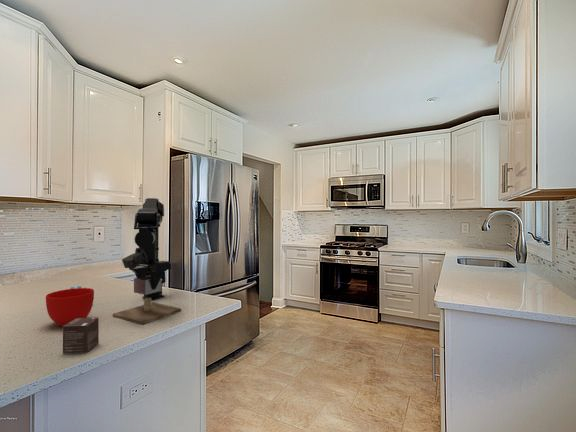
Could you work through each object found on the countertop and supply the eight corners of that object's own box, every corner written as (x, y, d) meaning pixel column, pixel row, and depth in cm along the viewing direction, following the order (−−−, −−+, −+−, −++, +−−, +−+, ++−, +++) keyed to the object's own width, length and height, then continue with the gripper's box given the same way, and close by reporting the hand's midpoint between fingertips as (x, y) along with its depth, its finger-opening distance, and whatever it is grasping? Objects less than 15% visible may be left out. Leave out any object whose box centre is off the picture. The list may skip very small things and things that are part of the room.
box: (76, 344, 84) (76, 317, 84) (99, 343, 85) (99, 317, 85) (62, 354, 78) (61, 325, 78) (86, 353, 79) (86, 325, 78)
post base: (152, 304, 121) (152, 290, 121) (181, 311, 113) (181, 296, 113) (112, 316, 107) (112, 300, 107) (141, 324, 99) (141, 307, 99)
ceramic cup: (104, 311, 112) (104, 284, 112) (84, 328, 95) (84, 296, 95) (64, 314, 109) (64, 286, 109) (36, 332, 93) (36, 299, 93)
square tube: (149, 288, 114) (149, 275, 114) (161, 290, 111) (161, 277, 111) (133, 292, 109) (133, 278, 108) (145, 294, 105) (145, 280, 105)
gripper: (109, 245, 107) (110, 290, 107) (143, 248, 98) (144, 297, 98) (139, 242, 117) (139, 283, 117) (172, 245, 108) (172, 289, 108)
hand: (147, 288), depth 110 cm, fingers closed on square tube, 6 cm apart
